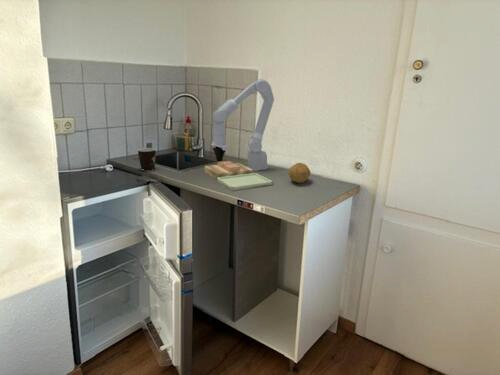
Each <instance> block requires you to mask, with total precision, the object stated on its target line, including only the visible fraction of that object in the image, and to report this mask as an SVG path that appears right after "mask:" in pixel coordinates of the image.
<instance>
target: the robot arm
mask: <svg viewBox="0 0 500 375" xmlns="http://www.w3.org/2000/svg"><path fill="white" fill-rule="evenodd" d="M272 90H273V89H272V87H271V84H270V83H269V82H268V81H267V80H266V79H263V78H259V79H257V80H256V81H255V82H253V83H251V84H250V85H248V86H247V87H246V88H245V89H243V91H241V92H240V93H239V94H238V95H237V96H236V97H235V98H234V99H232V98H230V99H227V100H226V101H225V102H224V103H223V105H221V106H219V107H217V110H215V111H214V112H213V114H212V120H213V125H212V128H213V129H212V131H213V132H212V133H213V137H212V138H213V140H212V141H211V144H210V145H211V146H212V151H213V153H214V154H215V160H216V162H217V163H218V162H220V161H223V158H224V155H225V153H226V151H228V145H227V144H226V126H225V120H226V118H228V117H229V116H230V115H232V114H233V113H234V112H235V111H236V110H237V109H238V105H239V104H240V103H241V102H243V101H244V100H245V99H247V98H248V97H250V96H251V95H254V94H257V92H258V93H259V95H260V96H261V98H262V100H263V103H262V104H261V109H260V112H259V114H258V118H257V121H256V123H255V128H254V130H253V133H252V135H251V137H250V138H249V140H248V142H247V143H248V150H247V167H248V168H250V169H252V170H253V172H256V171H257V172H259V171H263V170H264V171H265V170H266V171H267V170H268V154H267V153H266V151H265V150H262V148H263V146H262V144H263V143H262V142H263V137H264V133H265V130H266V127H267V124H268V121H269V117H270V114H271V111H272V108H273V105H274V101H275V98H274V93H273V91H272Z"/></svg>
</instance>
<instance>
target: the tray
mask: <svg viewBox="0 0 500 375" xmlns="http://www.w3.org/2000/svg"><path fill="white" fill-rule="evenodd" d="M216 182H217V183H219V184H220V185H222V186H224V187H225V188H227V189H228V190H229V191H231V192H234V191H235V192H236V191H240V190H241V191H242V190H246V189H255V188H260V187H268V186H273V185H274V181H273V180H270V179H269V178H267V177H265V176H263V175H261V174H259V173H257V172H253V173H250V174H242V175H234V176H226V177H218V178H217V179H216Z"/></svg>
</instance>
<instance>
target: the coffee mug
mask: <svg viewBox="0 0 500 375" xmlns="http://www.w3.org/2000/svg"><path fill="white" fill-rule="evenodd" d="M156 150H157V148H154V147H141V148H138V149H137V154H138V159H139V164H140V169H144V170H152V169H154V170H155V169H156V168H155V166H156V165H155V164H156V152H157V151H156ZM152 171H153V170H152Z"/></svg>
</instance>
